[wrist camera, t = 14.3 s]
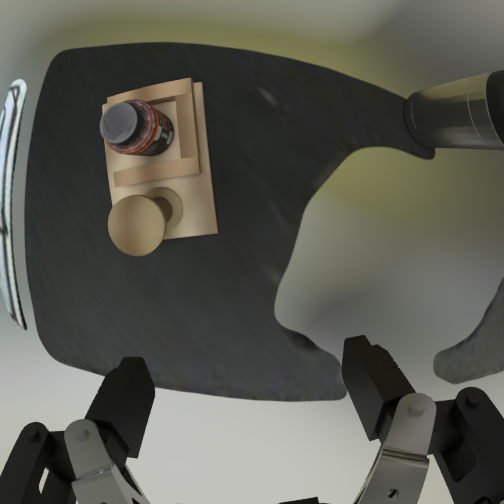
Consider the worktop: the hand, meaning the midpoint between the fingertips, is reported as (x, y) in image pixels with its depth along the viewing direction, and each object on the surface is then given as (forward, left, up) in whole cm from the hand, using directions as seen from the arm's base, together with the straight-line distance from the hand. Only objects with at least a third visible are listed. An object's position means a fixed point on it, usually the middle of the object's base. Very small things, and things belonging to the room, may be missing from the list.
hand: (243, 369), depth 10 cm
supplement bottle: (+10, -13, -27) cm, 32 cm away
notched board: (+10, -9, -28) cm, 31 cm away
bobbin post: (+10, -3, -28) cm, 30 cm away
